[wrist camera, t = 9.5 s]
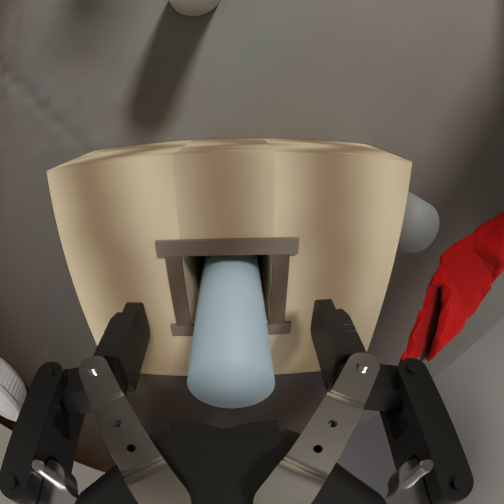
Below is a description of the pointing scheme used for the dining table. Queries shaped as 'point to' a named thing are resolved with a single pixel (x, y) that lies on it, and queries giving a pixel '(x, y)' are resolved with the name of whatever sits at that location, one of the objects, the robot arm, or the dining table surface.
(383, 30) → the dining table surface
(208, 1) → the medium pin
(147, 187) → the hole block
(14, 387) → the ramekin
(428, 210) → the short pin
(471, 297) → the cloth
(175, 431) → the robot arm
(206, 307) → the long pin
